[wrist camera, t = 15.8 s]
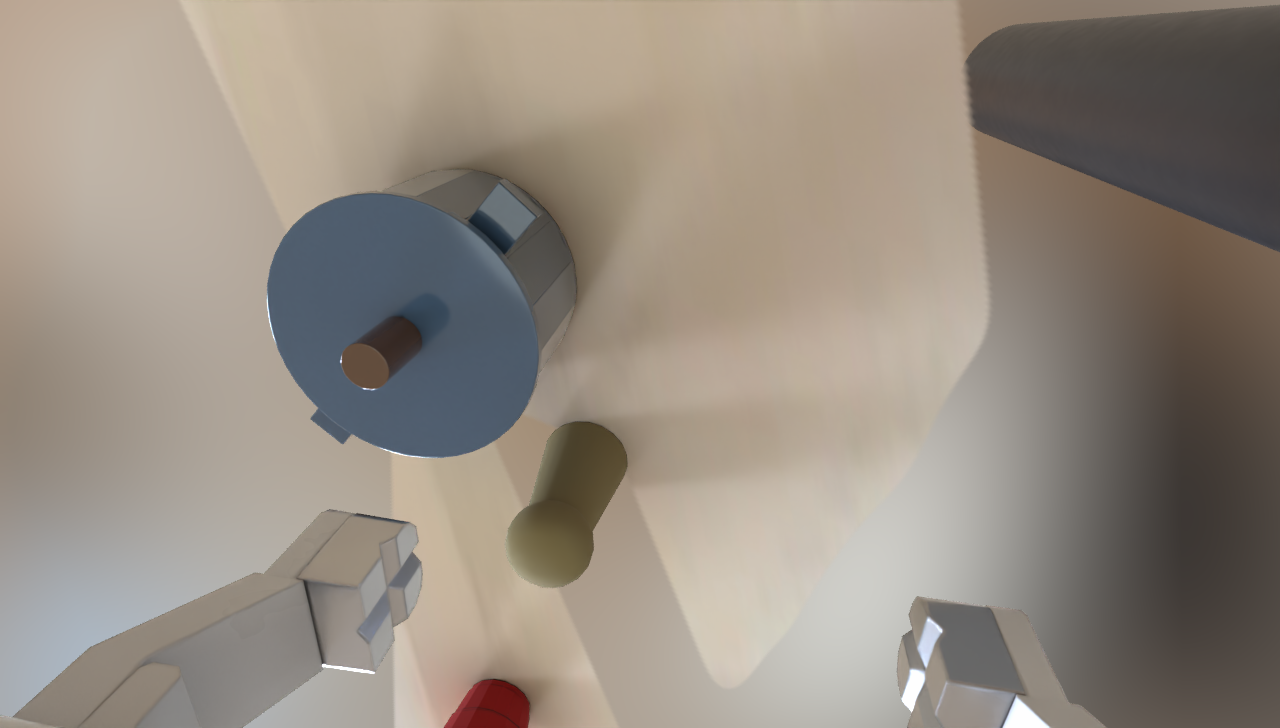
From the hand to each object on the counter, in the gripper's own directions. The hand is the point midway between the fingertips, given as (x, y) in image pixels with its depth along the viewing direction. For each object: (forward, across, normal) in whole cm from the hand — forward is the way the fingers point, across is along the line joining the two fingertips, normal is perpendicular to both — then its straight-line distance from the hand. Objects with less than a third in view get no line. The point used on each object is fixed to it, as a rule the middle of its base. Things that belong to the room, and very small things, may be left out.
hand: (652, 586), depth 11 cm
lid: (+22, +16, +6) cm, 27 cm away
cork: (+31, +8, +19) cm, 38 cm away
